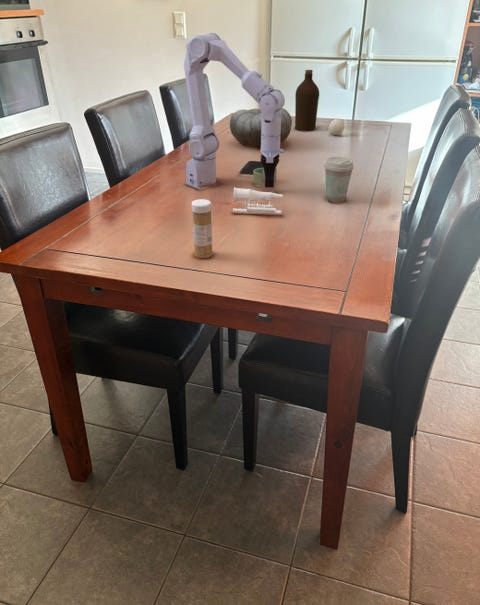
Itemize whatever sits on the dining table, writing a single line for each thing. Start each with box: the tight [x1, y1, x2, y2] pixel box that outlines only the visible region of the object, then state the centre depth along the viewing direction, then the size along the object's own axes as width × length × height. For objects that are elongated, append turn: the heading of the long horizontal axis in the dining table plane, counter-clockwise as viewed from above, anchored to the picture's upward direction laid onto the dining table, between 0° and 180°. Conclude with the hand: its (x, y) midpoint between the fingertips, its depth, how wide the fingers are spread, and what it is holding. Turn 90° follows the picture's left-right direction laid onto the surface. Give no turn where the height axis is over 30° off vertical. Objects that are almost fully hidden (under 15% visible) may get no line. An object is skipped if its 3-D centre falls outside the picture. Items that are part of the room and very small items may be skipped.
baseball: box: [328, 118, 345, 136], centre depth 224 cm, size 7×7×7 cm
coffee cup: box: [323, 156, 355, 204], centre depth 153 cm, size 8×8×12 cm
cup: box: [252, 168, 263, 186], centre depth 167 cm, size 6×6×4 cm
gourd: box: [229, 107, 293, 147], centre depth 207 cm, size 25×25×17 cm
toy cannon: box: [232, 186, 284, 217], centre depth 146 cm, size 8×14×5 cm
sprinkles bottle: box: [191, 198, 214, 259], centre depth 120 cm, size 5×5×13 cm
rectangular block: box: [261, 167, 278, 194], centre depth 158 cm, size 2×4×8 cm, turn 86°
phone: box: [239, 160, 263, 176], centre depth 181 cm, size 8×1×15 cm
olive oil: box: [294, 69, 320, 132], centre depth 229 cm, size 11×11×25 cm
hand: (269, 179), depth 158 cm, fingers closed on rectangular block, 2 cm apart
